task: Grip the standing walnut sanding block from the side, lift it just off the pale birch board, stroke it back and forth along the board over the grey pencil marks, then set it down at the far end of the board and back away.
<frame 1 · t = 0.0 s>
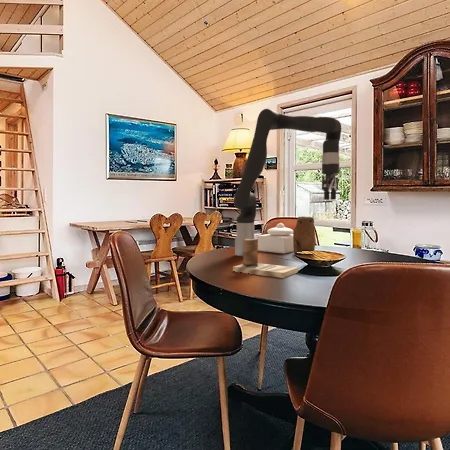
hand: (330, 199, 174), 29 cm above the table, tool pointing down, fingers open, 8 cm apart
white lidded container: (279, 250, 221), on the table
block: (303, 254, 205), on the table
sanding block: (250, 265, 162), point 2 cm above the table, touching board
board: (265, 271, 158), on the table
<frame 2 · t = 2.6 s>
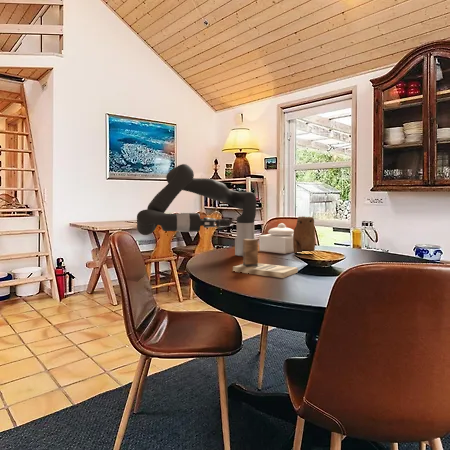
hand: (227, 222, 158), 20 cm above the table, tool horizontal, fingers open, 8 cm apart
white lidded container: (280, 251, 220), on the table
everything else where it was.
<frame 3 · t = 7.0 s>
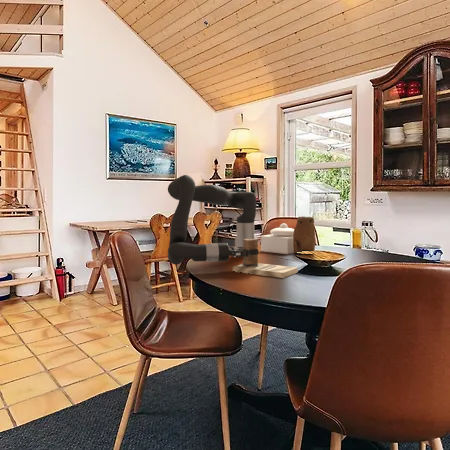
hand: (256, 251, 162), 8 cm above the table, tool horizontal, fingers closed on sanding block, 5 cm apart
white lidded container: (282, 251, 218), on the table
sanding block: (250, 265, 162), point 2 cm above the table, touching board, gripper
everything else where it was.
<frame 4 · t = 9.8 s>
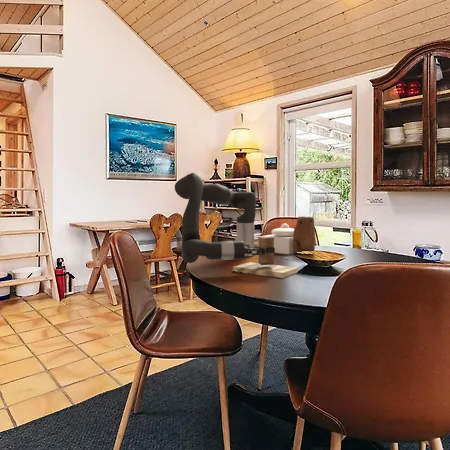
hand: (272, 249, 157), 9 cm above the table, tool horizontal, fingers closed on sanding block, 5 cm apart
white lidded container: (283, 251, 217), on the table
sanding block: (266, 263, 157), point 3 cm above the table, touching gripper
everything else where it was.
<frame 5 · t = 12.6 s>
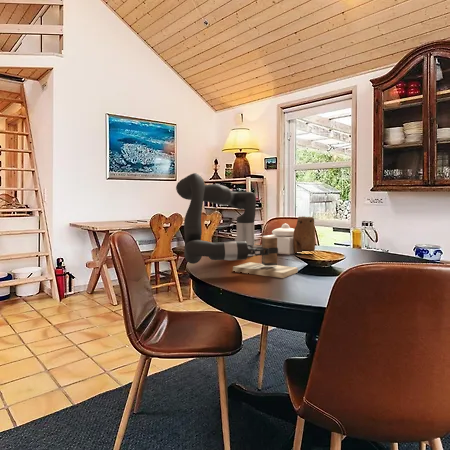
hand: (275, 249, 157), 9 cm above the table, tool horizontal, fingers closed on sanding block, 5 cm apart
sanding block: (269, 264, 157), point 3 cm above the table, touching gripper
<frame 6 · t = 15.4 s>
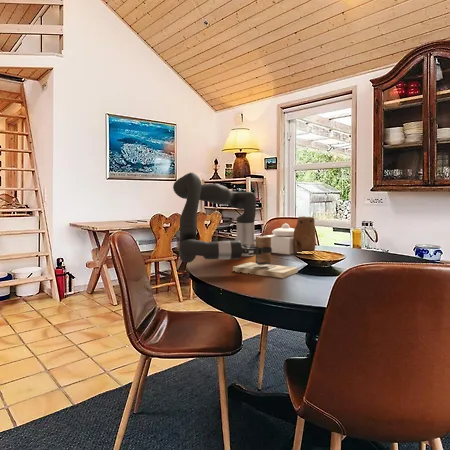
hand: (269, 248, 158), 9 cm above the table, tool horizontal, fingers closed on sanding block, 5 cm apart
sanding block: (263, 263, 158), point 3 cm above the table, touching gripper
everything else where it was.
when the fingers open (8 cm above the table, at t = 18.1 s): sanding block stays where it is, resting on board.
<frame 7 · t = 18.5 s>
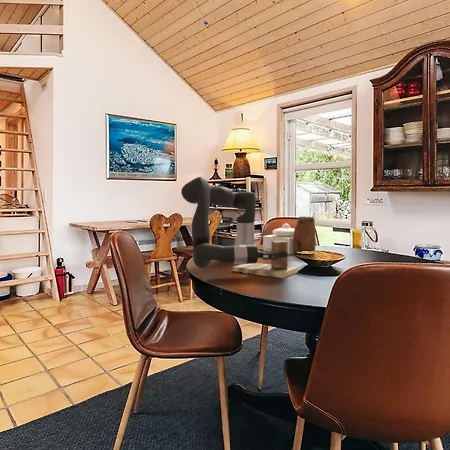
hand: (283, 253, 154), 8 cm above the table, tool horizontal, fingers open, 8 cm apart
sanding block: (279, 268, 154), point 2 cm above the table, touching board
everything else where it was.
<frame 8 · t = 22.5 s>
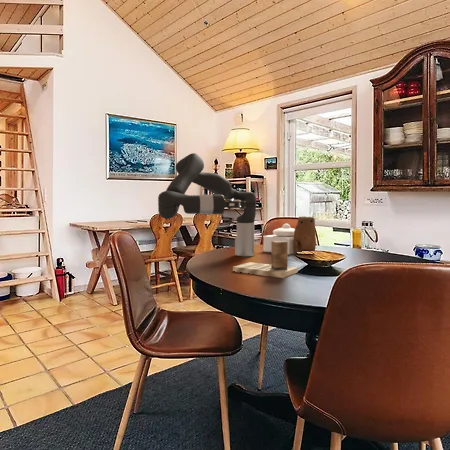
hand: (252, 204, 150), 28 cm above the table, tool horizontal, fingers open, 8 cm apart
nothing on the table moved.
at the end: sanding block inside the target area (0.0 cm from its centre), point 2.0 cm above the table; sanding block tilted 0°; the gripper is holding nothing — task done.
